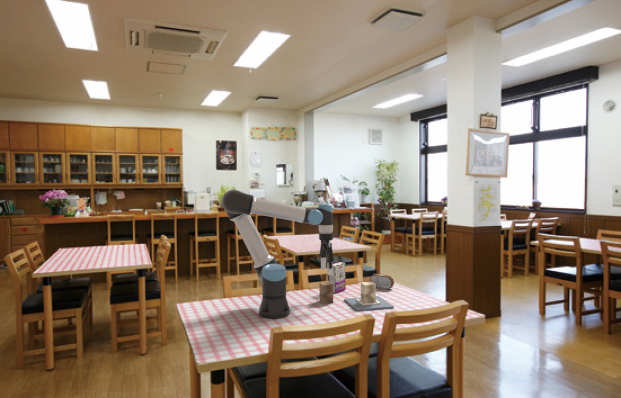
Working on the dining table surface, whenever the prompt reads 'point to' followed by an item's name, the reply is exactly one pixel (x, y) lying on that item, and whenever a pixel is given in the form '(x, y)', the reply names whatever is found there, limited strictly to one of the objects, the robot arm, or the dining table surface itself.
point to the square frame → (367, 303)
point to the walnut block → (326, 292)
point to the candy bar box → (338, 277)
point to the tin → (382, 281)
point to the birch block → (368, 292)
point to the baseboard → (359, 307)
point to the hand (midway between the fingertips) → (326, 272)
